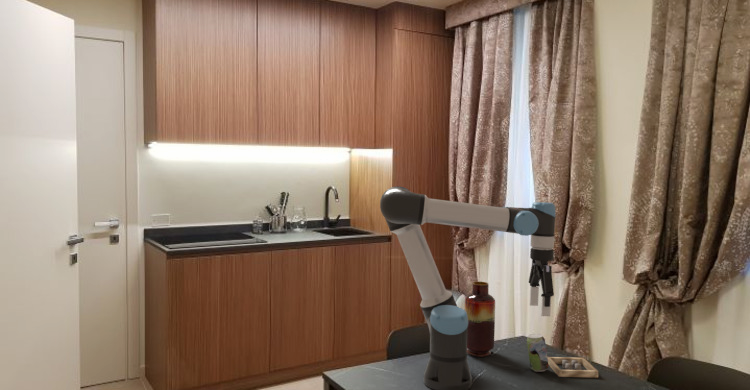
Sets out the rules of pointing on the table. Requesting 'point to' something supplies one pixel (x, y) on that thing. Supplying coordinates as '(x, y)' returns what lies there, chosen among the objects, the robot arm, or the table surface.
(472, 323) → the vase
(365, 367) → the table surface
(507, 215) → the robot arm
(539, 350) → the beverage can
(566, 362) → the peg frame
